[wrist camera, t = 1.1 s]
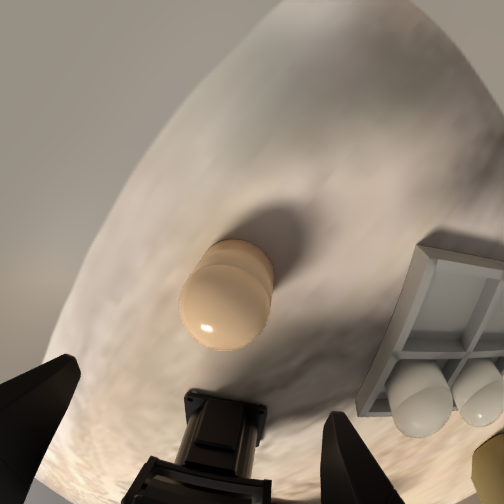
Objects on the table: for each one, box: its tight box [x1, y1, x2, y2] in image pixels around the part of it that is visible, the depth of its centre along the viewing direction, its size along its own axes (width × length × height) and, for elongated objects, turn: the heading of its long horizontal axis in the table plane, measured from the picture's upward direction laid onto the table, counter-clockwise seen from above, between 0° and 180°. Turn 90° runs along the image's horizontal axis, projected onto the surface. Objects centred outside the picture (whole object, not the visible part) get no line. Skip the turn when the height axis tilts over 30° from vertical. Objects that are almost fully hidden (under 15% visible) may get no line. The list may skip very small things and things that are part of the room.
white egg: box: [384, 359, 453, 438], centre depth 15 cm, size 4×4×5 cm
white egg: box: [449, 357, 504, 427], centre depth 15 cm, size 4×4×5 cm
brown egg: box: [179, 239, 274, 351], centre depth 14 cm, size 4×4×5 cm
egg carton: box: [355, 245, 504, 417], centre depth 16 cm, size 13×13×2 cm
